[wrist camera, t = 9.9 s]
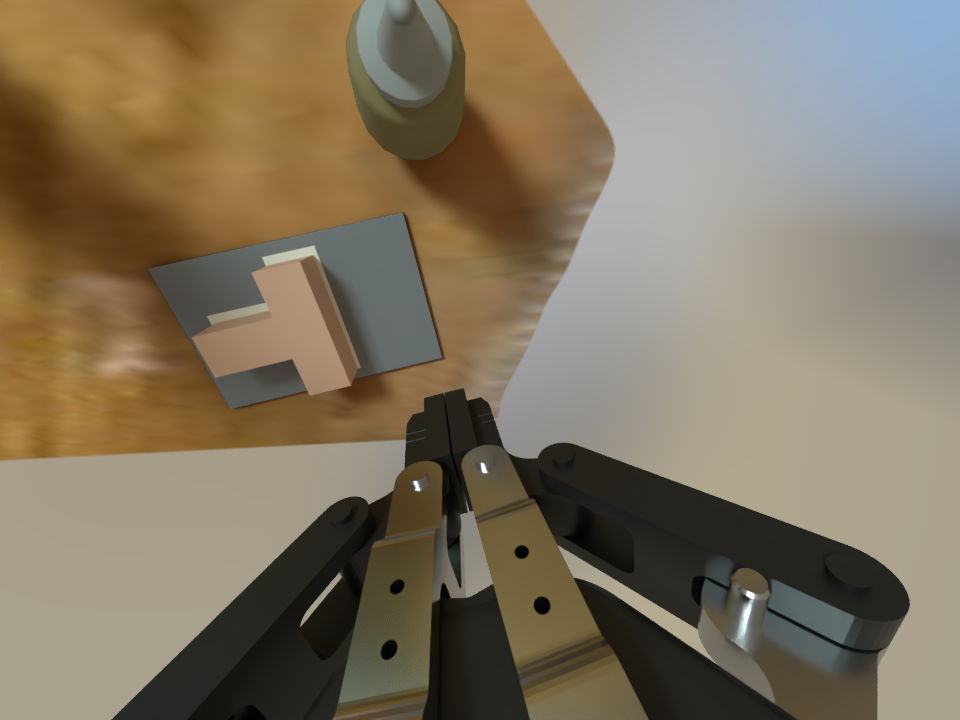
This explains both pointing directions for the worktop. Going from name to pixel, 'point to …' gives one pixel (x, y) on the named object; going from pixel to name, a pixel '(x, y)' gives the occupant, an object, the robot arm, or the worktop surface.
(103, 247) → the worktop surface
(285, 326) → the T-block
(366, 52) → the squeeze bottle
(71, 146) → the worktop surface
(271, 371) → the mat
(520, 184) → the worktop surface
